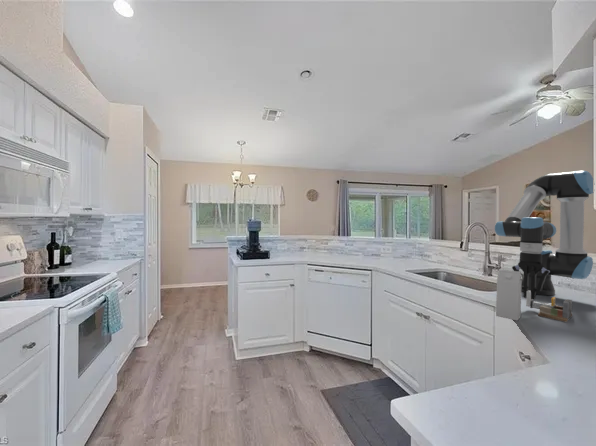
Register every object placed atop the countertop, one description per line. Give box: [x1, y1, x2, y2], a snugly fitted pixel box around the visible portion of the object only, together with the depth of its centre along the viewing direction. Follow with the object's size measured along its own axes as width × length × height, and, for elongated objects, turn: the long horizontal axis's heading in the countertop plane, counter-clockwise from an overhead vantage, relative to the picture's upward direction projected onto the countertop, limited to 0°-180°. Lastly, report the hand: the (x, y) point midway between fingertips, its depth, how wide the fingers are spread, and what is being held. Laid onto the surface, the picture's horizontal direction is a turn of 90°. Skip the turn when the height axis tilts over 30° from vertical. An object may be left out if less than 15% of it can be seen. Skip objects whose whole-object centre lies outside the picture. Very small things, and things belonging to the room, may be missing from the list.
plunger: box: [529, 296, 557, 310], centre depth 118 cm, size 4×8×6 cm, turn 37°
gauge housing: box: [537, 298, 573, 323], centre depth 115 cm, size 12×8×7 cm
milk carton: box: [495, 268, 522, 321], centre depth 113 cm, size 7×7×19 cm
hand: (529, 305), depth 121 cm, fingers closed
